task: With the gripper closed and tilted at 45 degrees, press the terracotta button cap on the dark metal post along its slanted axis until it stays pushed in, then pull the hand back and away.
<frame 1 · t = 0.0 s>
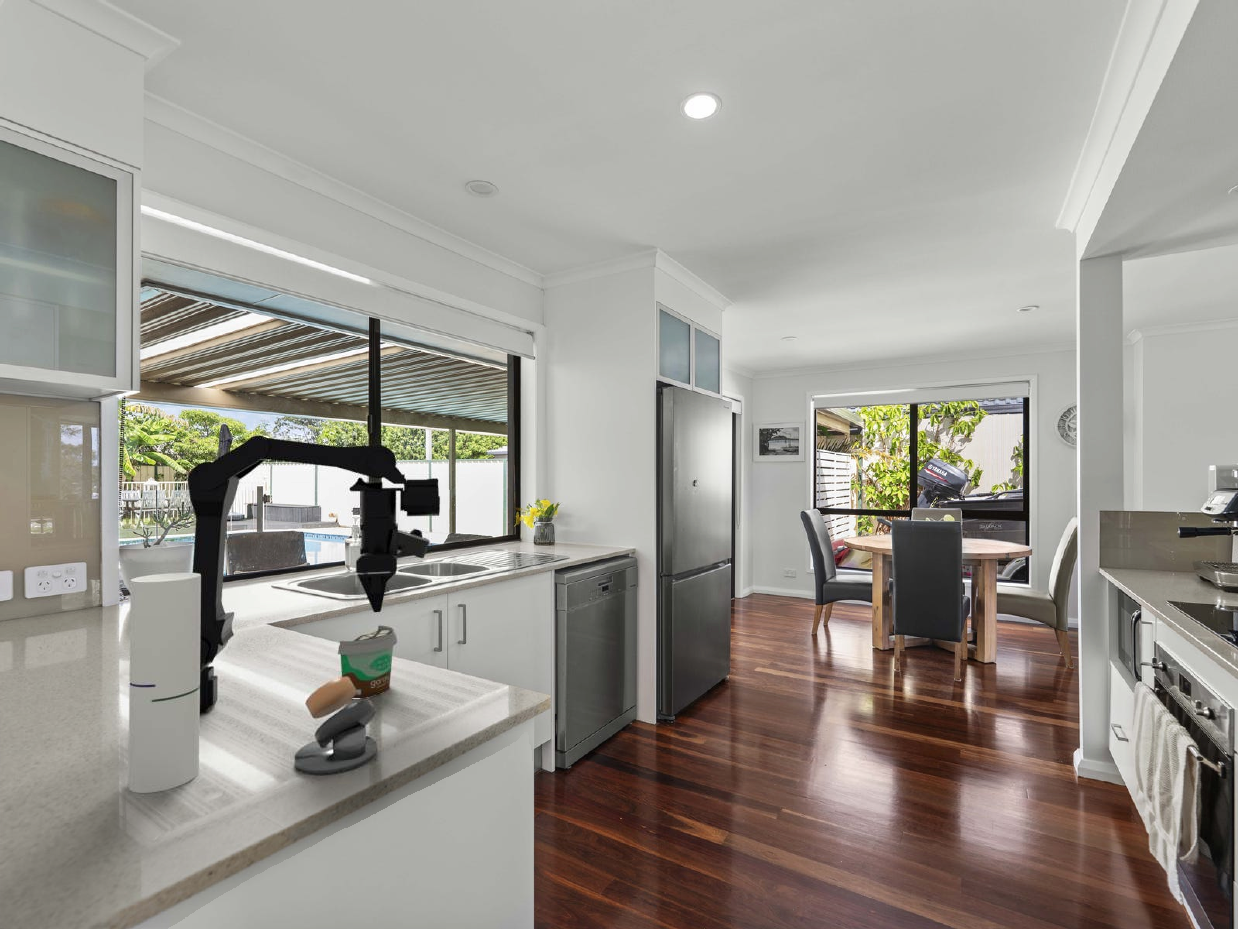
hand: (378, 606, 111), 15 cm above the counter, tool pointing down, fingers open, 9 cm apart
button cap: (331, 697, 86), point 8 cm above the counter, slide at 0.0 cm
button post: (336, 757, 85), on the counter
cylindrical container: (164, 780, 79), on the counter
food container: (375, 692, 111), on the counter
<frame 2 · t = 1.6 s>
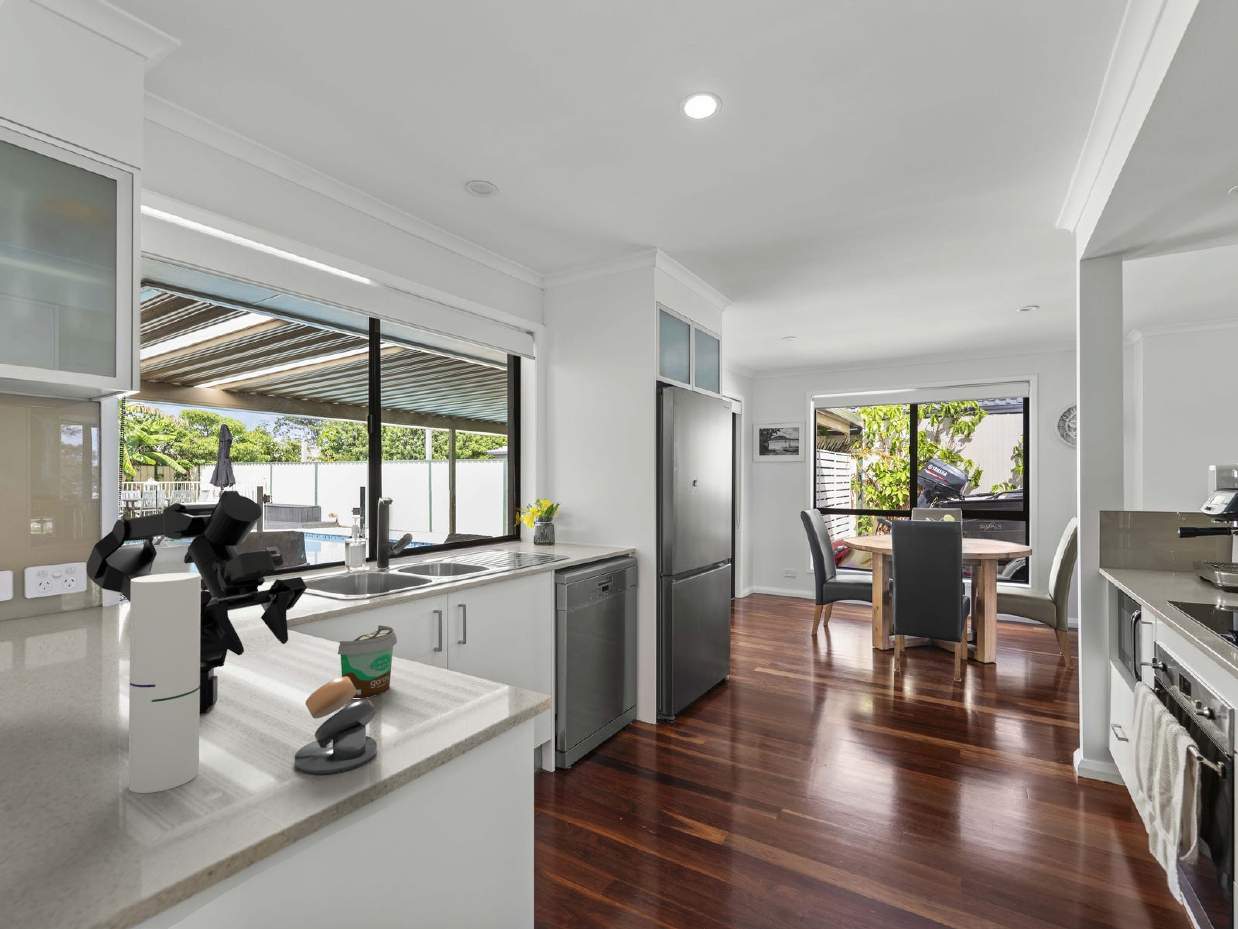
hand: (264, 647, 93), 13 cm above the counter, tool tilted 45°, fingers open, 6 cm apart
nothing on the counter moved.
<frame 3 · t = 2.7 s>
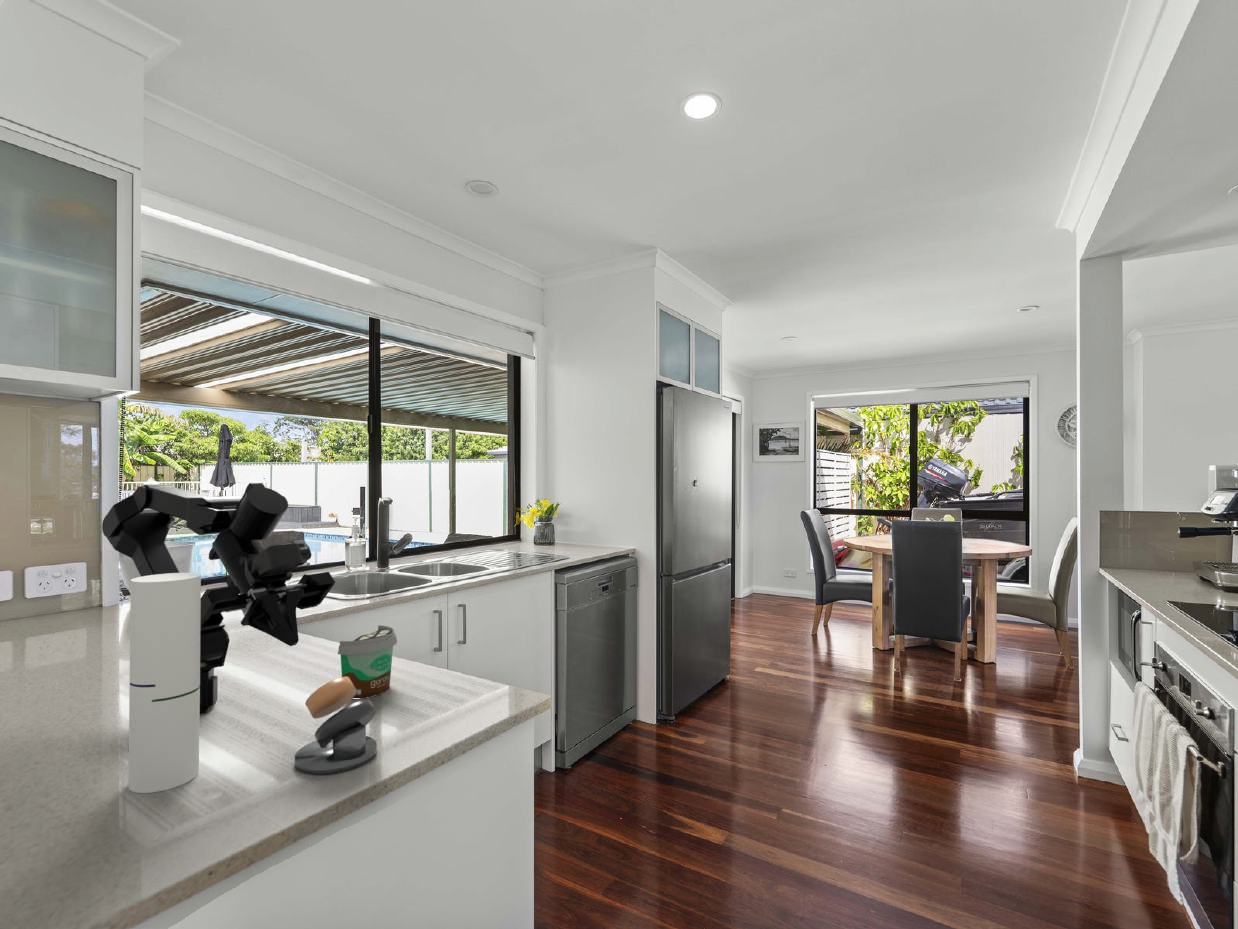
hand: (294, 643, 89), 14 cm above the counter, tool tilted 45°, fingers closed
nothing on the counter moved.
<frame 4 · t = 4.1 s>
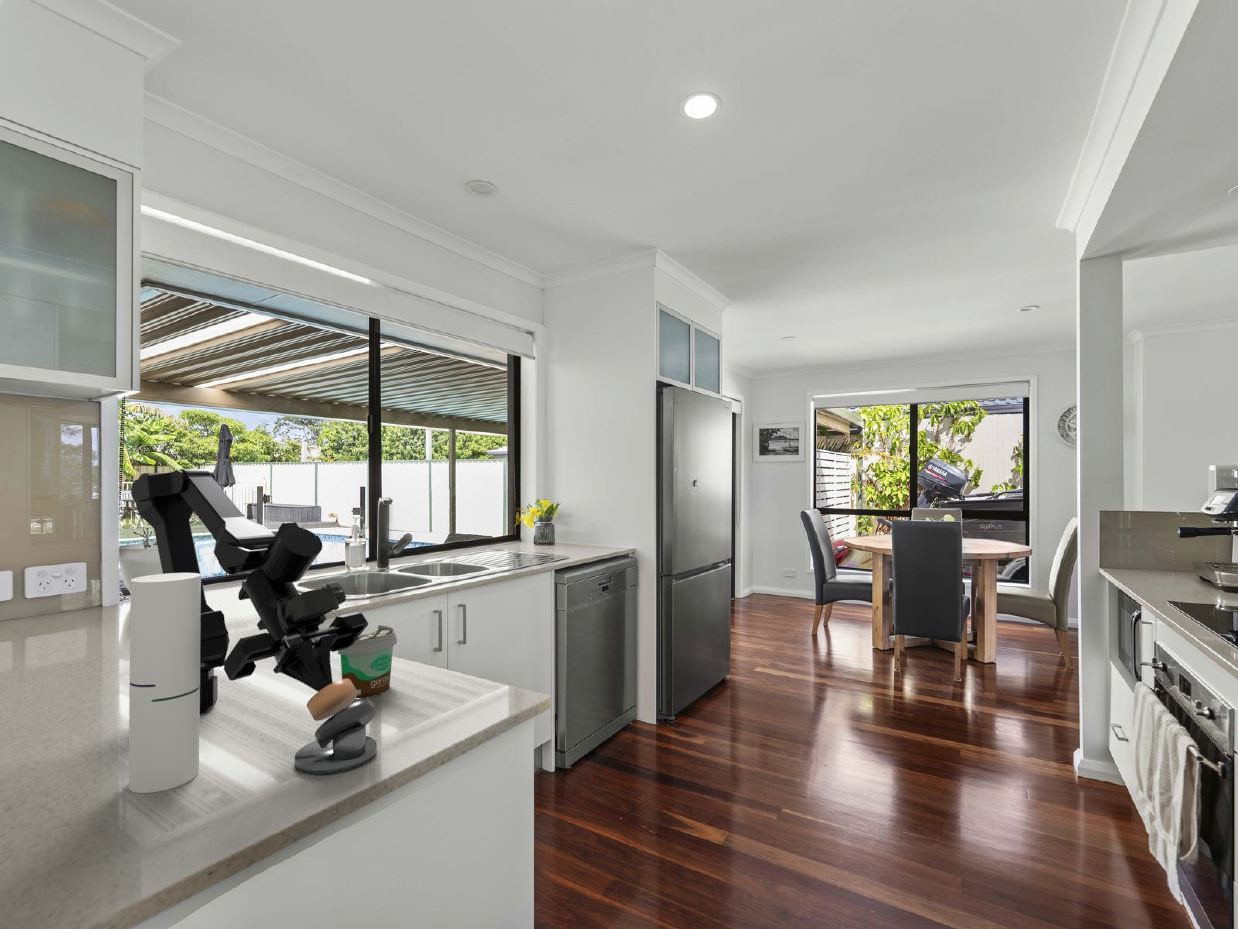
hand: (329, 693, 86), 8 cm above the counter, tool tilted 45°, fingers closed, pressing on button cap
button cap: (332, 699, 85), point 8 cm above the counter, slide at 0.3 cm, touching gripper
everything else where it was.
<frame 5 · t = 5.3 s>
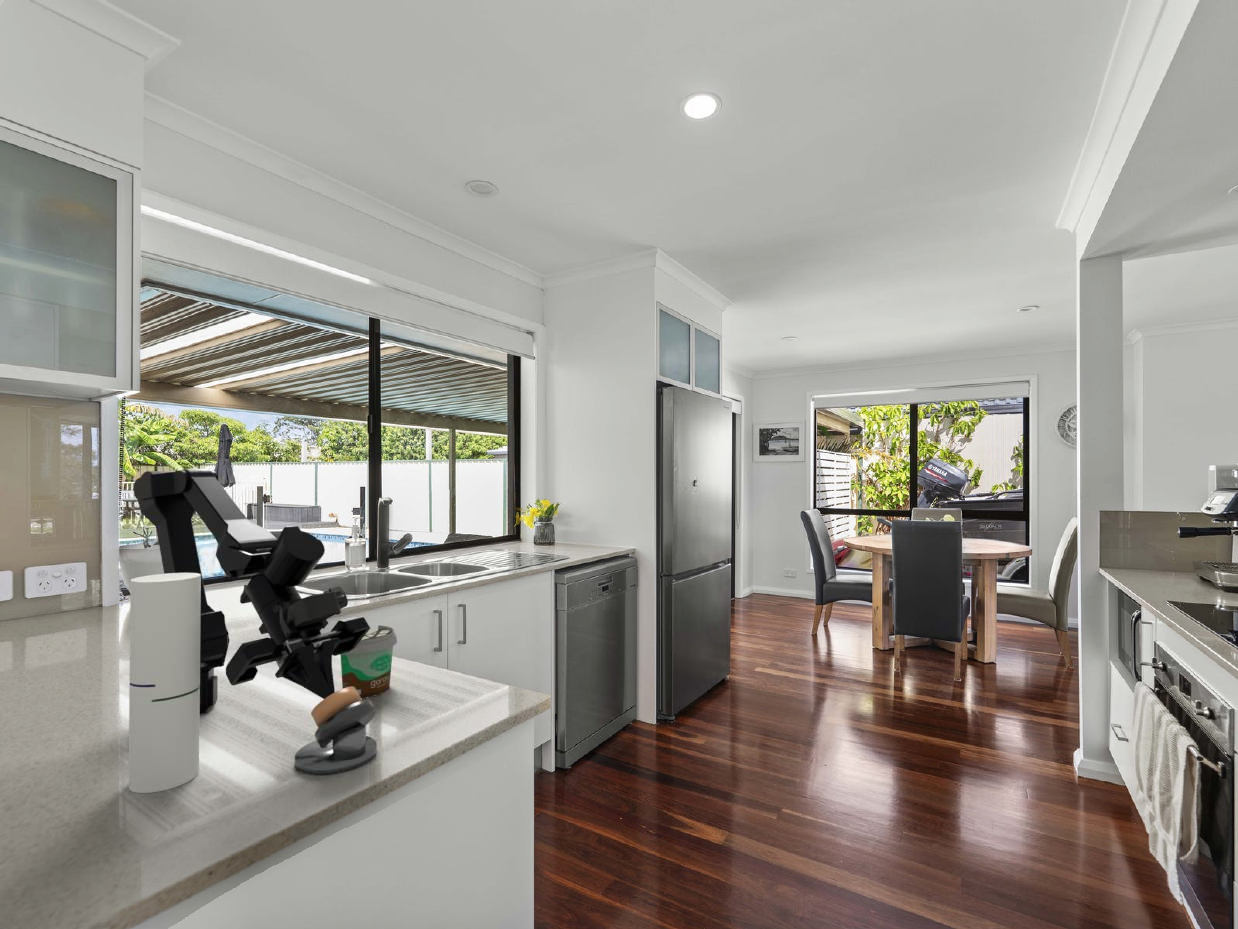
hand: (331, 698, 86), 8 cm above the counter, tool tilted 45°, fingers closed
button cap: (337, 707, 85), point 7 cm above the counter, slide at 1.6 cm
everything else where it was.
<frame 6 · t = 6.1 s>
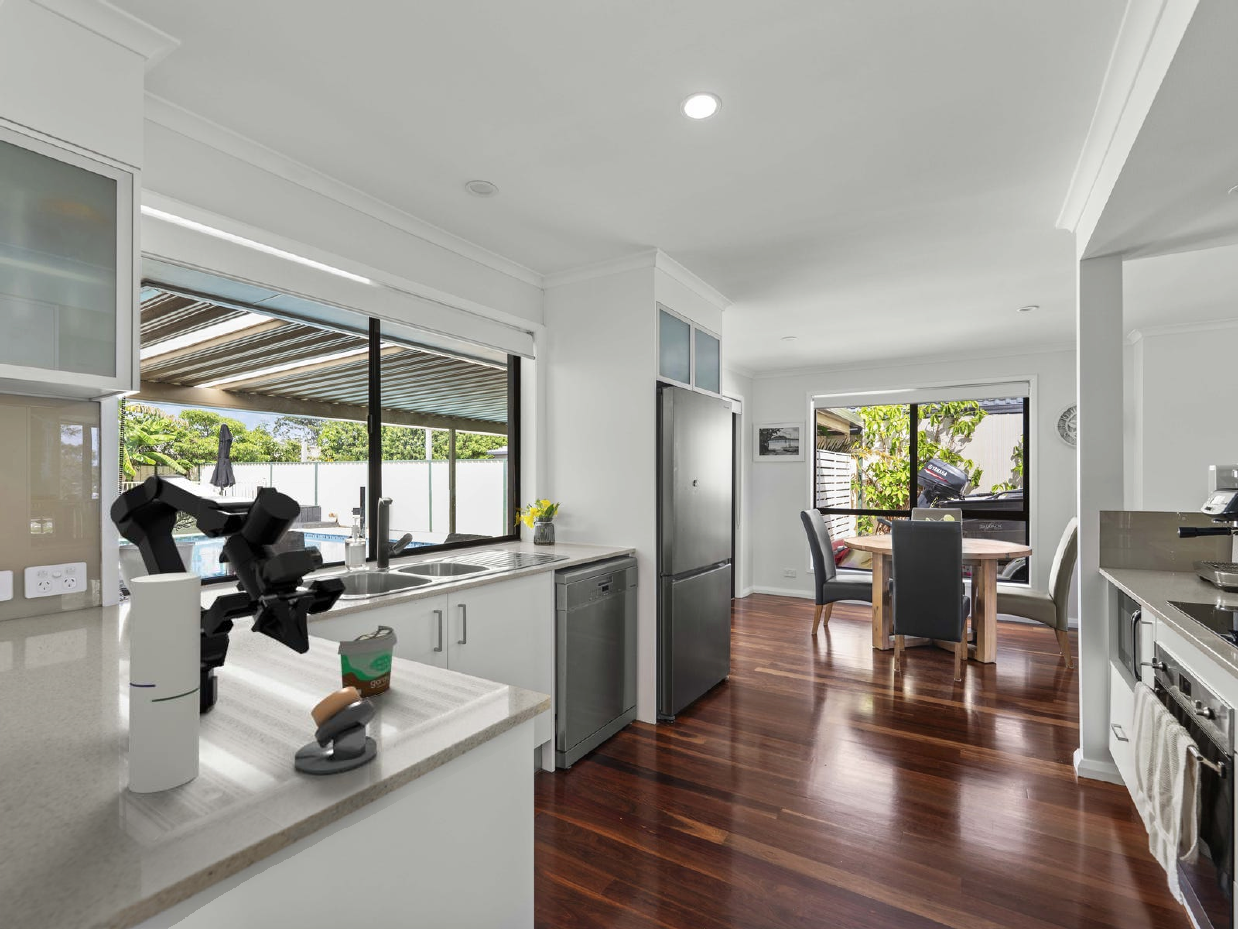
hand: (305, 651, 88), 13 cm above the counter, tool tilted 45°, fingers closed
nothing on the counter moved.
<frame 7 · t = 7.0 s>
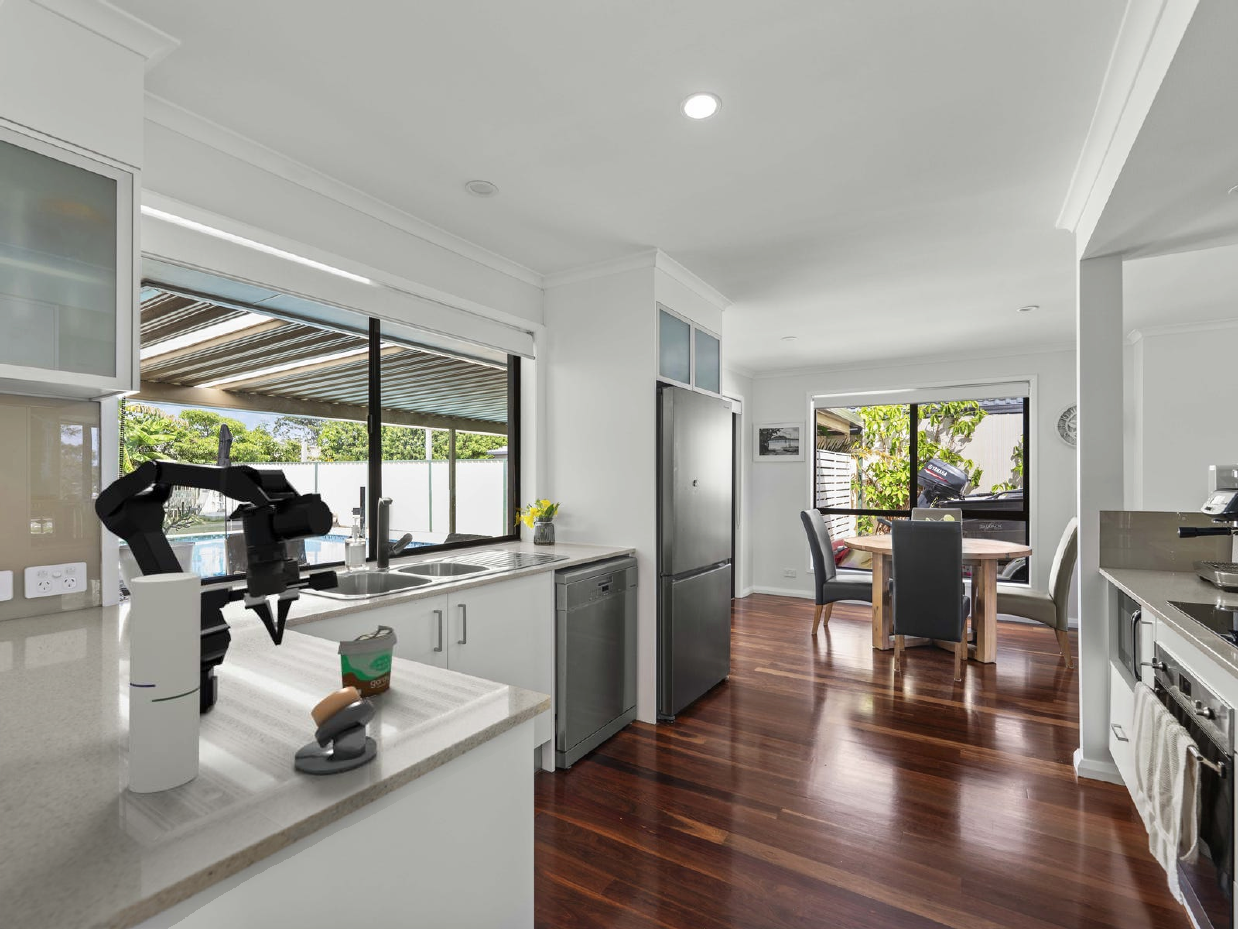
hand: (278, 644, 98), 11 cm above the counter, tool pointing down, fingers closed
nothing on the counter moved.
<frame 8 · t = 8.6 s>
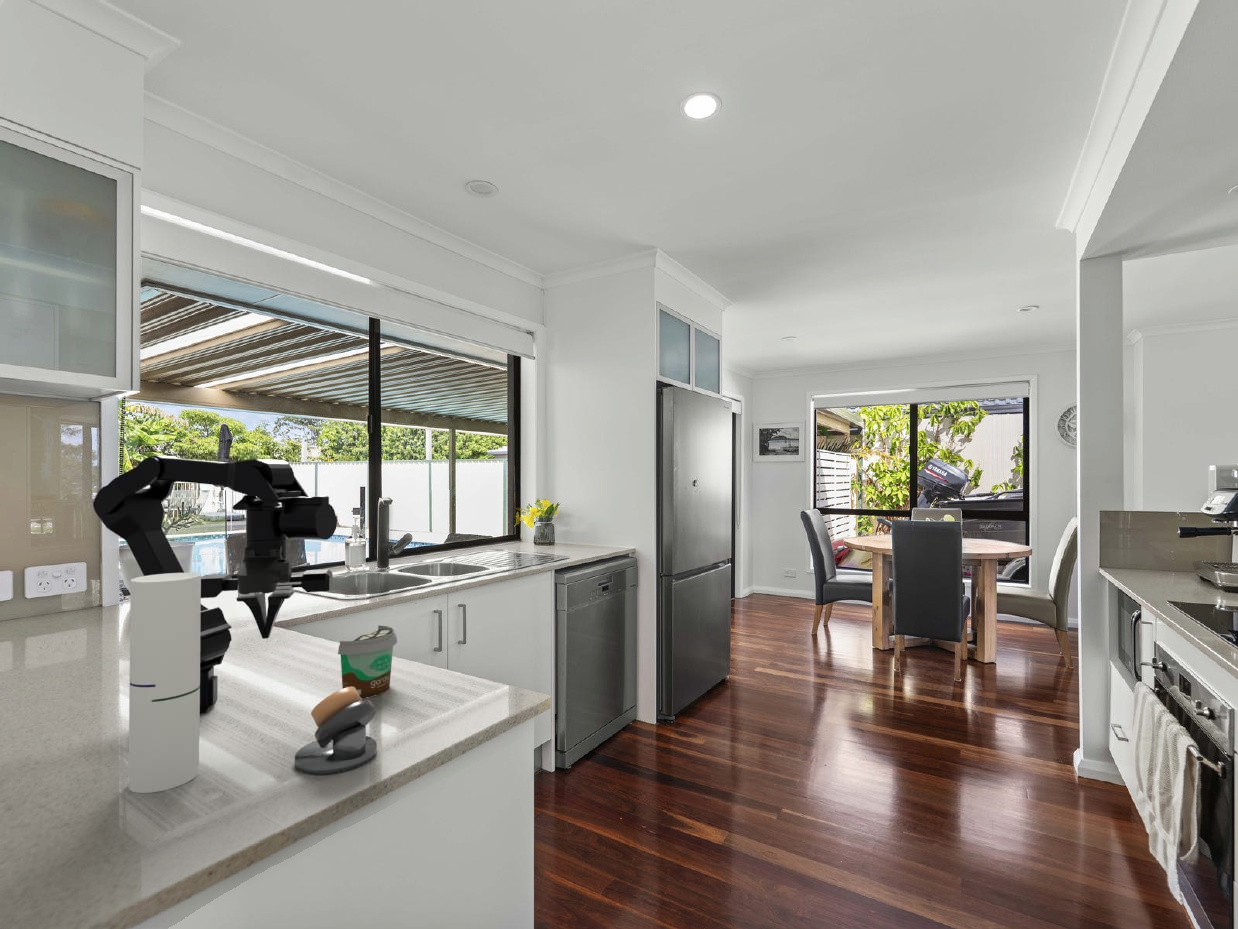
hand: (265, 638, 100), 12 cm above the counter, tool pointing down, fingers closed
nothing on the counter moved.
at the end: button cap slide at 1.6 cm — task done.
